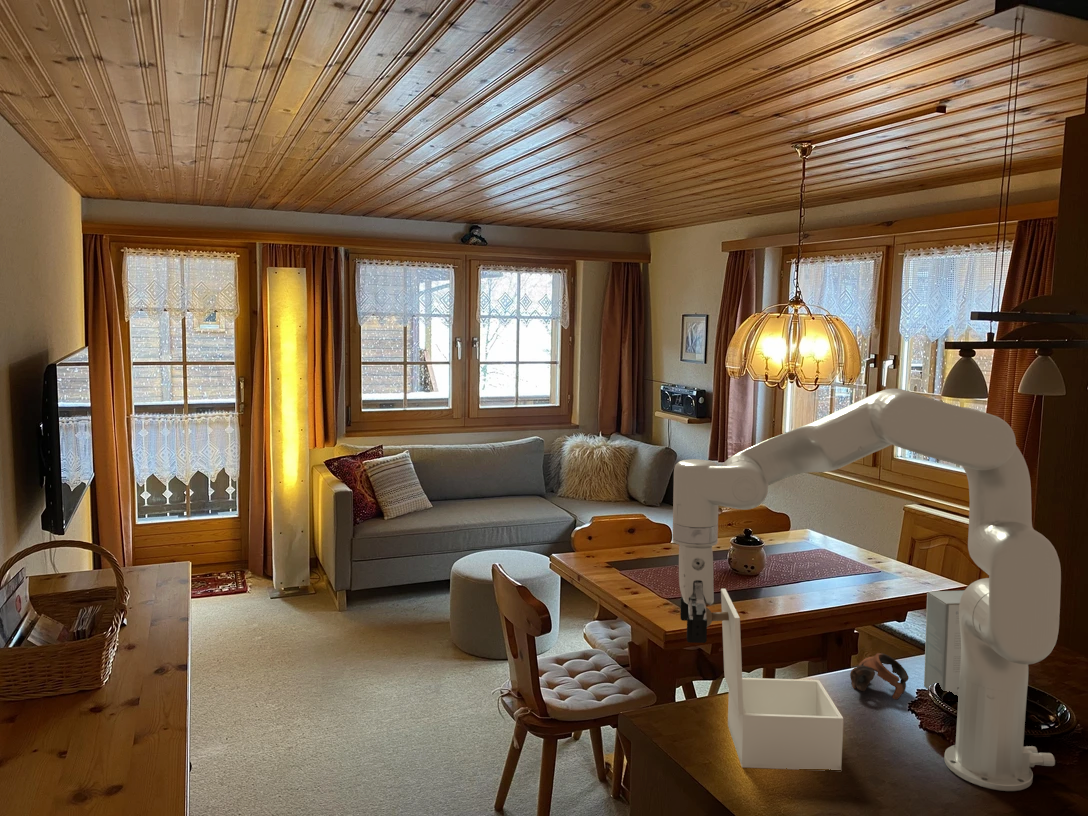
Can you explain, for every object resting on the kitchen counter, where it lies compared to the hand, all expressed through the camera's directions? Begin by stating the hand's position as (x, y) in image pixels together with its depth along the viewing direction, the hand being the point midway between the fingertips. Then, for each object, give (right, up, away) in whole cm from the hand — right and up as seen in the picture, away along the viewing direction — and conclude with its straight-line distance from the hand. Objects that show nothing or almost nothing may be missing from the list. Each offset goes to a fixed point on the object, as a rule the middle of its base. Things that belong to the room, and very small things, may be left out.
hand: (692, 630), depth 135 cm
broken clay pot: (+40, -19, +22) cm, 50 cm away
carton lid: (+7, -3, 0) cm, 8 cm away
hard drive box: (+59, -19, +21) cm, 65 cm away
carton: (+16, -20, +1) cm, 26 cm away
